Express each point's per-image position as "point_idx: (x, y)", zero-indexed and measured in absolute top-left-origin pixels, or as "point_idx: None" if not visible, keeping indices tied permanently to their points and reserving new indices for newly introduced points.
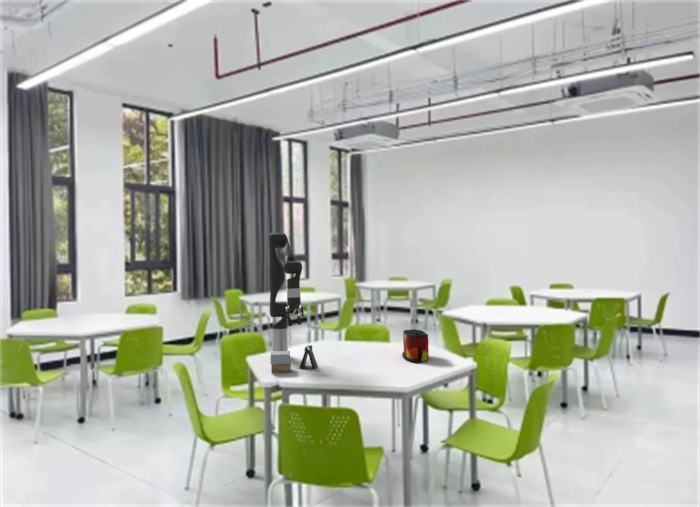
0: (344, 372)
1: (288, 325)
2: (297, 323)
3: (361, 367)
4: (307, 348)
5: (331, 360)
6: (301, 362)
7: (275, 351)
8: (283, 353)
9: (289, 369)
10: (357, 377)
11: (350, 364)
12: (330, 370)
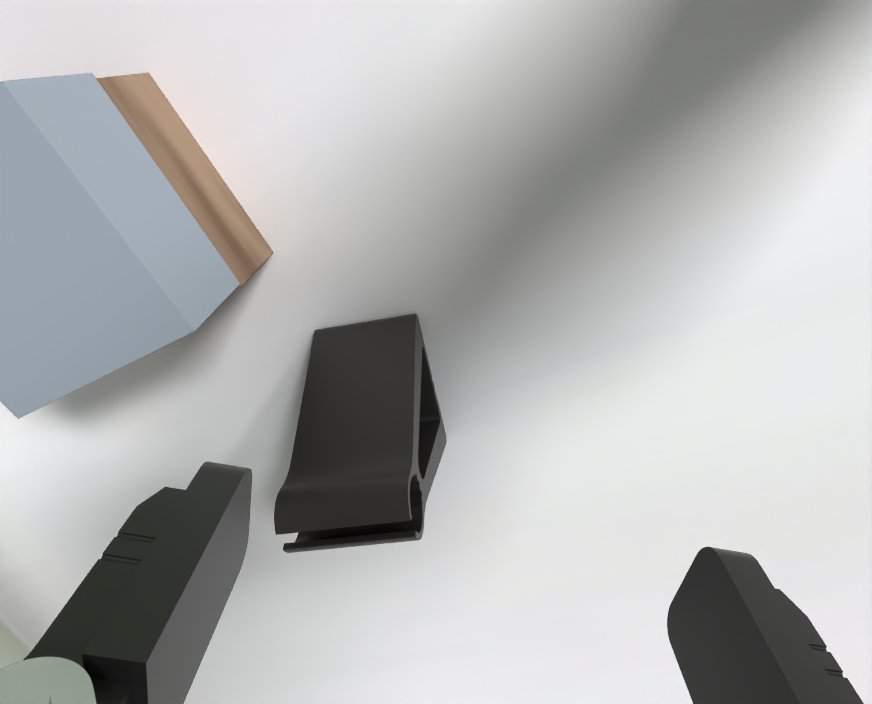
0: (337, 625)
1: (200, 474)
2: (722, 569)
3: (514, 670)
4: (398, 479)
5: (746, 455)
6: (307, 376)
7: (42, 154)
8: (2, 332)
9: None
10: (252, 694)
11: (597, 605)
12: (357, 548)
